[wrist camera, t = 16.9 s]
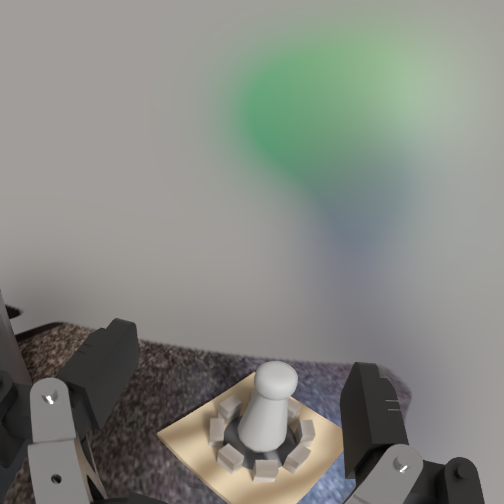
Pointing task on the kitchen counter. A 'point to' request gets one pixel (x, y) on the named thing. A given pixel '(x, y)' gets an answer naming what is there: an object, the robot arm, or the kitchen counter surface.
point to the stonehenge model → (247, 462)
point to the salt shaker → (268, 407)
